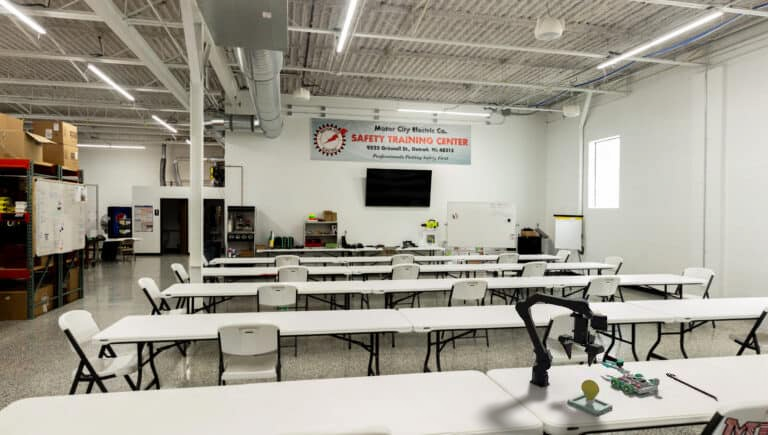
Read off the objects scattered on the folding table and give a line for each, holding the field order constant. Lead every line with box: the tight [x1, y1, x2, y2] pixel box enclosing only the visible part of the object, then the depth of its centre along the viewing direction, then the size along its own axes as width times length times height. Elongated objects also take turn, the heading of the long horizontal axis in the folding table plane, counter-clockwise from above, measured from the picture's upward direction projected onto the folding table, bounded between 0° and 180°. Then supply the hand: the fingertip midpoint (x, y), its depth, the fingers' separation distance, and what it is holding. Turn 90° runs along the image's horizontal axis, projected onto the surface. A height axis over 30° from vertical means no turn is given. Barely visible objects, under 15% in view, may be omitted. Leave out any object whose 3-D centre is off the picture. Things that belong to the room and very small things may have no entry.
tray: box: [567, 392, 613, 417], centre depth 167 cm, size 12×12×2 cm
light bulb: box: [580, 379, 600, 406], centre depth 167 cm, size 7×7×10 cm
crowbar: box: [665, 372, 718, 401], centre depth 189 cm, size 28×1×5 cm
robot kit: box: [601, 359, 660, 395], centre depth 191 cm, size 19×25×9 cm
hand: (579, 362), depth 180 cm, fingers open, 9 cm apart
